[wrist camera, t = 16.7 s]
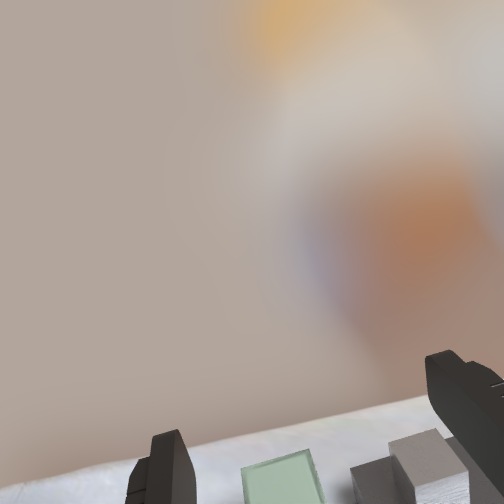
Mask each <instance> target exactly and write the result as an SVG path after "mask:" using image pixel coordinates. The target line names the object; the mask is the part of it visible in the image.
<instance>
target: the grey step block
mask: <svg viewBox="0 0 504 504" xmlns="http://www.w3.org/2000/svg"><path fill="white" fill-rule="evenodd" d="M388 445H389V452H390V456H389V457H385V458H382V459H379V460H376V461H372V462H369V463H366V464H363V465H359V466H356V467H353V468H350V471H351V476H352V481H353V486H354V491H355V496H356V500H357V503H358V504H504V498H503V496H502V495H501V494H500V493H499V491H498V490H497V489H496V488H495V486H494V485H493V484H492V483H491V481H490V480H489V479H488V478H487V476H486V475H485V474H484V473H483V471H482V470H481V469H480V468H479V466H478V465H477V464H476V463H475V461H474V460H473V459H472V458H471V456H470V455H469V454H468V453H467V451H466V450H465V449H464V448H463V446H462V445H461V444H460V443H459V441H458V440H457V439H456V438H455V436H454V437H450V438H447V439H444V438H443V437H442V436H441V434H440V433H439V432H438V430H437V429H436V428H435V429H431V430H428V431H425V432H422V433H418V434H415V435H412V436H408V437H405V438H402V439H399V440H395V441H392V442H389V443H388Z"/></svg>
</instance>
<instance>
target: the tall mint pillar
mask: <svg viewBox="0 0 504 504" xmlns="http://www.w3.org/2000/svg"><path fill="white" fill-rule="evenodd" d="M241 476H242V484H243V493H244V501H245V504H327V502H326V499H325V496H324V493H323V490H322V487H321V484H320V481H319V478H318V474H317V471H316V468H315V465H314V462H313V459H312V456H311V453H310V450H309V449H306V450H302V451H299V452H295V453H292V454H289V455H285V456H282V457H278V458H275V459H272V460H268V461H265V462H261V463H258V464H254V465H251V466H248V467H244V468H241Z"/></svg>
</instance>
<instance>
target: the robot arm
mask: <svg viewBox="0 0 504 504" xmlns="http://www.w3.org/2000/svg"><path fill="white" fill-rule="evenodd" d="M425 368H426V378H427V388H428V397H429V400H430V403H431V405H432V407H433V409H434V411H435V412H436V414H437V415H438V416H439V418H440V419H441V420H442V421H443V423H444V424H445V425H446V426H447V428H448V429H449V430H450V431H451V433H452V434H453V435H454V436H455V438H456V439H457V440H458V441H459V443H460V444H461V445H462V446H463V448H464V449H465V450H466V451H467V453H468V454H469V455H470V456H471V458H472V459H473V460H474V461H475V463H476V464H477V465H478V466H479V468H480V469H481V470H482V471H483V473H484V474H485V475H486V476H487V478H488V479H489V480H490V481H491V483H492V484H493V485H494V486H495V488H496V489H497V490H498V491H499V493H500V494H501V495H502V496H503V498H504V380H503V379H502V378H500V377H499V376H498V375H497V374H496V373H495V372H493V371H492V370H491V369H489V368H487V367H485V366H483V365H481V364H478V363H476V362H474V361H471V362H467V363H465V362H464V361H463V360H462V359H461V358H460V357H459V356H458V355H456V354H455V353H454V352H453V351H451V350H446V351H443V352H439V353H436V354H433V355H429V356H426V358H425ZM125 504H197V492H196V477H195V472H194V468H193V465H192V462H191V459H190V457H189V454H188V452H187V449H186V447H185V444H184V442H183V439H182V437H181V434H180V432H179V430H178V429H176V430H173V431H169V432H166V433H162V434H159V435H155V436H153V438H152V445H151V452H150V456H149V457H146V458H142V459H139V460H138V462H137V464H136V466H135V468H134V469H133V471H132V473H131V475H130V477H129V483H128V489H127V497H126V501H125Z"/></svg>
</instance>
